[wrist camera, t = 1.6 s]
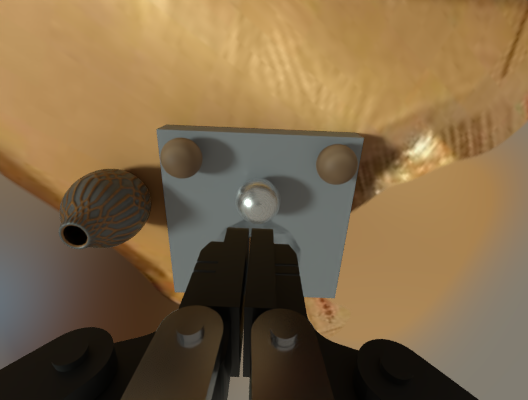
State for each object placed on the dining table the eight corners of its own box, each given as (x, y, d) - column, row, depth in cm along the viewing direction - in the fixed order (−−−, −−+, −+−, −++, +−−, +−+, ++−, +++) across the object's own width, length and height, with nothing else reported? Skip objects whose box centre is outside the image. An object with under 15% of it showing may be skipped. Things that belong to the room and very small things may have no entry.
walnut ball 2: (315, 139, 24) (322, 148, 21) (354, 141, 24) (367, 150, 21) (311, 176, 26) (317, 190, 23) (348, 177, 26) (359, 191, 23)
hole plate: (166, 124, 26) (156, 129, 24) (355, 132, 27) (364, 137, 24) (181, 277, 34) (174, 292, 31) (330, 283, 34) (334, 298, 32)
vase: (172, 189, 29) (136, 232, 21) (138, 233, 31) (94, 286, 23) (113, 146, 27) (49, 175, 19) (81, 195, 30) (12, 240, 22)
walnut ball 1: (166, 133, 24) (151, 141, 21) (205, 134, 24) (196, 143, 21) (169, 170, 26) (156, 183, 23) (206, 172, 26) (198, 185, 23)
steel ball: (237, 171, 26) (232, 187, 22) (281, 173, 26) (283, 189, 22) (237, 210, 27) (232, 231, 24) (278, 212, 27) (280, 233, 24)
